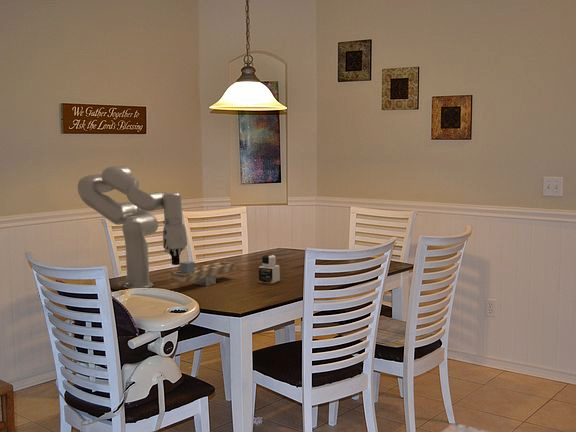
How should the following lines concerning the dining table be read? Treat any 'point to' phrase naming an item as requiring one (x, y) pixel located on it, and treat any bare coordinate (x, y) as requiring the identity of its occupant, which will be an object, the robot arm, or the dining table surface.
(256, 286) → the dining table surface
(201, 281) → the fulcrum
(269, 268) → the medicine bottle
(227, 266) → the beam
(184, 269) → the block
